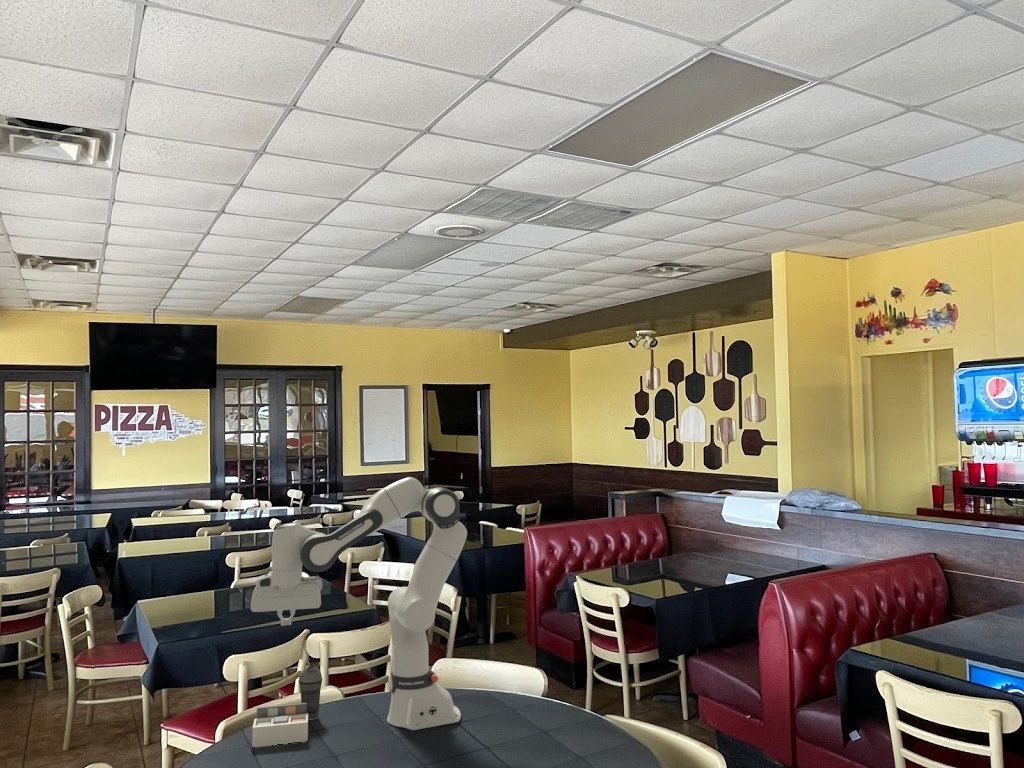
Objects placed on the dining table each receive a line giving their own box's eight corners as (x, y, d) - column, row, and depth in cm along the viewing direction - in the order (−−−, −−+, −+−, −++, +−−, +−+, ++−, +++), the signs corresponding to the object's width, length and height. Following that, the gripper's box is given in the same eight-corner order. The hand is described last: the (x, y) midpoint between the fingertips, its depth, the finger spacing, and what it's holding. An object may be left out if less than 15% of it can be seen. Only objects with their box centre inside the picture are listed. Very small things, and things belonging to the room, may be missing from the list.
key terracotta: (304, 725, 222) (304, 718, 222) (304, 729, 219) (304, 722, 219) (291, 726, 221) (291, 719, 222) (291, 731, 218) (291, 724, 218)
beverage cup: (315, 723, 231) (316, 656, 232) (293, 721, 232) (294, 655, 234) (326, 714, 238) (326, 649, 239) (304, 713, 240) (305, 648, 241)
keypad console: (308, 730, 226) (308, 702, 226) (307, 741, 217) (307, 713, 218) (255, 735, 222) (255, 707, 223) (252, 747, 214) (252, 718, 214)
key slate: (287, 722, 221) (287, 715, 221) (287, 727, 218) (287, 720, 218) (274, 724, 220) (274, 717, 220) (273, 728, 217) (274, 721, 217)
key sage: (270, 728, 220) (270, 721, 220) (269, 733, 217) (269, 726, 217) (257, 729, 219) (257, 722, 219) (256, 734, 216) (256, 727, 216)
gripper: (322, 574, 233) (322, 620, 232) (252, 577, 228) (251, 624, 227) (322, 577, 227) (322, 625, 226) (250, 581, 222) (249, 629, 221)
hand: (286, 624), depth 227 cm, fingers closed
